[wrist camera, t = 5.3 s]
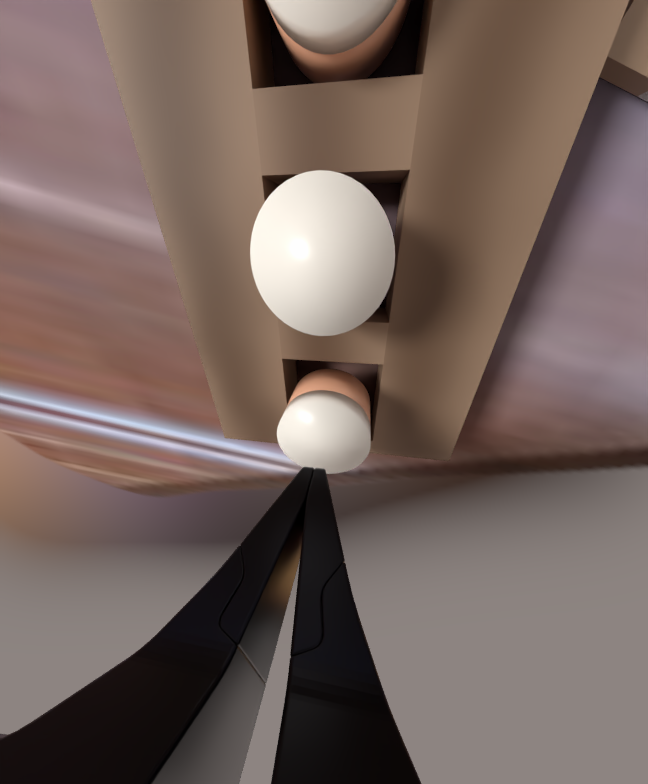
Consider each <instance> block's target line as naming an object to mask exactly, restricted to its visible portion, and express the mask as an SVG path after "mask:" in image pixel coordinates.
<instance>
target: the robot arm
mask: <svg viewBox="0 0 648 784" xmlns="http://www.w3.org/2000/svg"><path fill="white" fill-rule="evenodd" d="M299 560H300V565H299V575H298V586H297V595H296V605H295V615H294V625H293V635H292V644H291V658H290V665H289V673H288V681H287V689H286V696H285V703H284V709H283V715H282V721H281V727H280V733H279V740H278V745H277V751H276V757H275V763H274V770H273V775H272V782H271V784H421V782H420V779H419V777H418V775H417V772H416V770H415V767H414V765H413V763H412V761H411V758H410V756H409V753H408V751H407V749H406V746H405V744H404V742H403V739H402V737H401V735H400V732H399V730H398V727H397V725H396V723H395V720H394V718H393V715H392V713H391V710H390V708H389V705H388V702H387V699H386V697H385V694H384V691H383V688H382V685H381V682H380V679H379V676H378V673H377V671H376V667H375V665H374V661H373V658H372V655H371V652H370V649H369V646H368V643H367V640H366V637H365V634H364V631H363V628H362V625H361V621H360V618H359V615H358V612H357V608H356V605H355V602H354V598H353V595H352V591H351V586H350V582H349V578H348V574H347V569H346V564H345V563H344V561H345V560H344V555H343V550H342V546H341V542H340V536H339V532H338V527H337V522H336V517H335V513H334V508H333V503H332V499H331V494H330V489H329V484H328V480H327V475H326V470H325V469H323V468H315V469H314V468H313V467H306V466H305V467H303V468H302V469H301V470H300V471H299V473H298V474H297V475H296V476H295V478H294V479H293V480H292V481H291V482H290V484H289V485H288V486H287V487H286V489H285V490H284V491H283V492H282V494H281V495H280V496H279V497H278V499H277V500H276V501H275V502H274V503H273V505H272V506H271V507H270V508H269V510H268V511H267V512H266V513H265V514H264V516H263V517H262V518H261V519H260V521H259V522H258V523H257V524H256V526H255V527H254V528H253V529H252V530H251V532H250V533H249V534H248V535H247V537H246V538H245V539H244V540H243V542H242V543H241V546H238V547H237V549H236V550H235V551H234V552H233V554H232V555H231V556H230V557H229V559H228V560H227V561H226V562H225V563H224V564H223V565H222V567H221V568H220V569H219V570H218V571H217V572H216V574H215V575H214V576H213V577H212V578H211V579H210V580H209V581H208V582H207V583H206V584H205V585H204V586H203V587H202V588H201V590H200V591H199V592H198V593H197V594H196V595H195V596H194V597H193V598H192V599H191V600H190V601H189V602H188V603H187V604H186V605H185V606H184V607H183V608H182V609H181V610H180V611H179V612H178V613H177V614H176V615H175V616H174V617H173V618H172V619H171V620H170V621H169V622H168V623H167V624H166V625H165V627H163V628H162V629H161V630H160V631H159V632H158V633H157V635H155V636H154V637H153V638H152V639H151V640H150V641H149V642H148V643H147V644H145V645H144V646H143V647H142V648H141V649H140V650H138V651H137V652H136V653H134V654H133V655H131V656H130V657H129V658H127V659H126V660H124V661H123V662H121V663H120V664H118V665H117V666H115V667H114V668H112V669H111V670H109V671H108V672H106V673H105V674H103V675H102V676H100V677H99V678H97V679H96V680H94V681H93V682H91V683H90V684H88V685H87V686H85V687H84V688H82V689H81V690H79V691H78V692H76V693H75V694H73V695H72V696H70V697H69V698H67V699H66V700H64V701H63V702H61V703H59V704H58V705H57V706H55V707H54V708H52V709H50V710H49V711H48V712H46V713H45V714H43V715H41V716H40V717H38V718H37V719H36V720H34V721H32V722H31V723H29V724H27V725H26V726H24V727H22V728H21V729H20V730H18V731H16V732H14V733H11V734H9V735H6V734H0V784H239V782H240V778H241V774H242V771H243V767H244V763H245V759H246V756H247V752H248V749H249V745H250V741H251V738H252V734H253V730H254V726H255V723H256V719H257V715H258V711H259V708H260V704H261V700H262V697H263V693H264V690H265V683H266V682H267V678H268V675H269V671H270V667H271V664H272V660H273V656H274V653H275V648H276V645H277V641H278V637H279V634H280V630H281V626H282V623H283V619H284V616H285V612H286V608H287V604H288V601H289V597H290V594H291V590H292V586H293V582H294V579H295V575H296V571H297V568H298V564H299Z"/></svg>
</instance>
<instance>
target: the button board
mask: <svg viewBox="0 0 648 784" xmlns="http://www.w3.org/2000/svg"><path fill="white" fill-rule="evenodd" d="M628 2H629V0H424V6H423V14H422V22H421V30H420V38H419V46H418V54H417V62H416V70H415V75H408V76H396V77H385V78H373V79H362V80H350V81H339V82H327V83H315V84H304V85H292V86H281V87H275V84H274V71H273V58H272V45H271V32H270V19H269V8H268V6H267V3H266V1H265V0H91V3H92V6H93V9H94V12H95V16H96V19H97V22H98V26H99V29H100V32H101V35H102V39H103V42H104V45H105V48H106V52H107V55H108V58H109V61H110V65H111V68H112V71H113V74H114V78H115V81H116V84H117V87H118V91H119V94H120V97H121V100H122V104H123V107H124V110H125V114H126V117H127V120H128V123H129V127H130V130H131V133H132V136H133V140H134V143H135V146H136V149H137V153H138V156H139V159H140V162H141V166H142V169H143V172H144V175H145V179H146V182H147V185H148V188H149V192H150V195H151V198H152V201H153V205H154V208H155V211H156V215H157V218H158V221H159V224H160V228H161V231H162V234H163V237H164V241H165V244H166V247H167V250H168V254H169V257H170V260H171V263H172V267H173V270H174V273H175V276H176V280H177V283H178V286H179V289H180V293H181V296H182V299H183V303H184V306H185V309H186V312H187V316H188V319H189V322H190V325H191V329H192V332H193V335H194V338H195V342H196V345H197V348H198V351H199V355H200V358H201V361H202V364H203V368H204V371H205V374H206V377H207V381H208V384H209V387H210V391H211V394H212V397H213V400H214V404H215V407H216V410H217V413H218V417H219V420H220V423H221V426H222V430H223V433H224V436H225V438H231V439H241V440H250V441H260V442H270V443H278V439H277V428H278V424H279V422H280V420H281V418H282V416H283V413H284V411H285V409H286V407H287V405H288V403H289V400H290V398H291V396H292V394H293V392H294V390H295V388H296V386H297V384H298V383H297V370H296V360H313V361H330V362H348V363H365V364H379V365H378V373H377V380H376V388H375V396H374V404H373V412H372V415H370V431H371V446H370V451H369V453H376V454H385V455H395V456H405V457H414V458H424V459H434V460H443V461H449V460H450V457H451V455H452V452H453V449H454V447H455V444H456V442H457V439H458V437H459V434H460V432H461V429H462V426H463V424H464V421H465V419H466V416H467V414H468V411H469V409H470V406H471V403H472V401H473V398H474V396H475V393H476V391H477V388H478V385H479V383H480V380H481V378H482V375H483V373H484V370H485V368H486V365H487V362H488V360H489V357H490V355H491V352H492V350H493V347H494V345H495V342H496V339H497V337H498V334H499V332H500V329H501V327H502V324H503V322H504V319H505V316H506V314H507V311H508V309H509V306H510V304H511V301H512V299H513V296H514V293H515V291H516V288H517V286H518V283H519V281H520V278H521V276H522V273H523V270H524V268H525V265H526V263H527V260H528V258H529V255H530V253H531V250H532V247H533V245H534V242H535V240H536V237H537V235H538V232H539V230H540V227H541V224H542V222H543V219H544V217H545V214H546V212H547V209H548V207H549V204H550V201H551V199H552V196H553V194H554V191H555V189H556V186H557V184H558V181H559V178H560V176H561V173H562V171H563V168H564V166H565V163H566V161H567V158H568V155H569V153H570V150H571V148H572V145H573V143H574V140H575V138H576V135H577V132H578V130H579V127H580V125H581V122H582V120H583V117H584V115H585V112H586V109H587V107H588V104H589V102H590V99H591V97H592V94H593V92H594V89H595V86H596V84H597V81H598V79H599V76H600V74H601V71H602V69H603V66H604V63H605V61H606V58H607V56H608V53H609V51H610V48H611V46H612V43H613V40H614V38H615V35H616V33H617V30H618V28H619V25H620V23H621V20H622V17H623V15H624V12H625V10H626V7H627V5H628ZM317 170H324V171H333V172H338V173H341V174H344V175H346V176H349V177H351V178H353V179H354V180H356V181H358V182H359V183H361V184H366V183H396V182H401V189H400V197H399V205H398V213H397V221H396V229H395V237H394V244H395V264H394V271H393V276H392V280H391V283H390V286H389V289H388V293H387V301H386V308H377V310H376V311H375V312H374V313H373V314H372V315H371V316H370V317H369V318H368V319H367V320H366V321H365V322H363V323H362V324H361V325H359V326H357V327H356V328H354V329H352V330H350V331H347V332H345V333H341V334H338V335H332V336H316V335H310V334H306V333H303V332H300V331H298V330H296V329H294V328H292V327H290V326H289V325H287V324H286V323H284V322H283V321H282V320H280V319H279V318H278V317H277V316H276V315H275V314H274V313H273V312H272V311H271V310H270V308H269V307H268V306H267V304H266V303H265V301H264V300H263V298H262V296H261V295H260V292H259V290H258V288H257V286H256V283H255V280H254V277H253V272H252V267H251V259H250V244H251V236H252V231H253V227H254V223H255V221H256V218H257V216H258V213H259V211H260V209H261V208H262V206H263V204H264V202H265V201H266V200H267V198H268V197H269V196H270V194H271V193H272V192H273V191H274V190H275V189H276V188H277V187H278V186H280V185H281V184H282V183H284V182H285V181H287V180H288V179H290V178H292V177H294V176H296V175H299V174H302V173H305V172H309V171H317Z"/></svg>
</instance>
